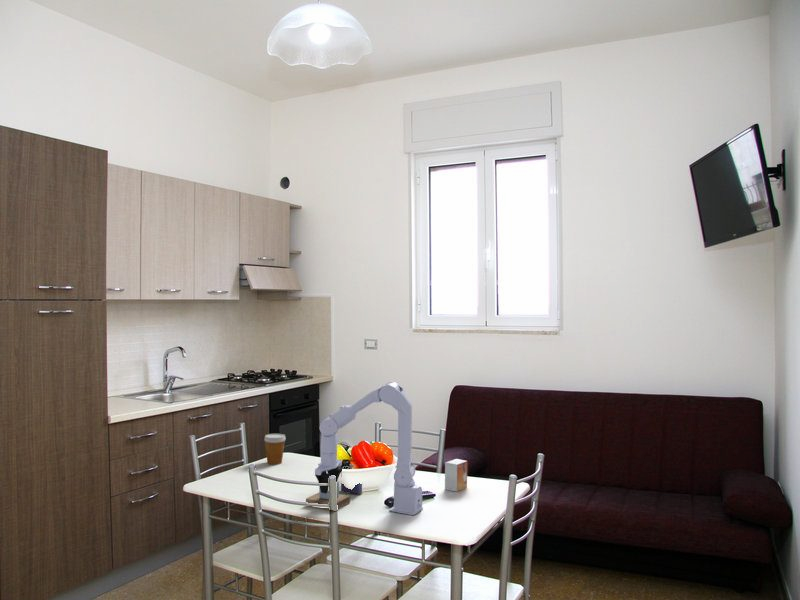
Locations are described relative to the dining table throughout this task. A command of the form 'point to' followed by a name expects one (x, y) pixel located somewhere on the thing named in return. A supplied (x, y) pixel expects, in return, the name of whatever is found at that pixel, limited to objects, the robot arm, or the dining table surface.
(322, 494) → the slate cube
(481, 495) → the dining table surface
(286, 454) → the dining table surface
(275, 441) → the disposable coffee cup
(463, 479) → the small box
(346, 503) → the walnut base
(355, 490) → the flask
